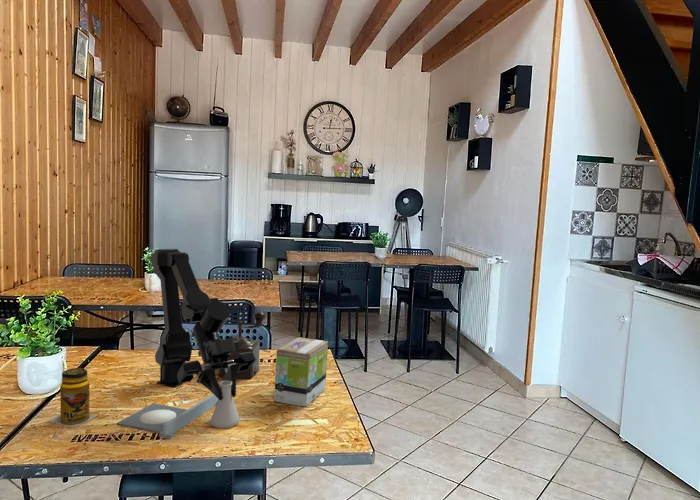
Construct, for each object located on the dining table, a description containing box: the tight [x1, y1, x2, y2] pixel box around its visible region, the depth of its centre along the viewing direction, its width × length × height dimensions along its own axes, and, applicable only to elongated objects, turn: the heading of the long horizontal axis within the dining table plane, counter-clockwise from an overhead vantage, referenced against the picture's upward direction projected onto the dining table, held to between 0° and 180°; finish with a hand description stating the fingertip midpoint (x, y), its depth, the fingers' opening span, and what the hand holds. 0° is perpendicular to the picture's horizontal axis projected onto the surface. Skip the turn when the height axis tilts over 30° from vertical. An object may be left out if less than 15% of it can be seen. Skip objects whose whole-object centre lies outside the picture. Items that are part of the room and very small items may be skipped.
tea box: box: [273, 336, 329, 407], centre depth 143 cm, size 15×10×15 cm
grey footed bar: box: [158, 393, 218, 440], centre depth 125 cm, size 3×22×3 cm, turn 163°
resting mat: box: [116, 403, 188, 434], centre depth 124 cm, size 13×13×1 cm
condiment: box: [46, 367, 99, 428], centre depth 121 cm, size 7×8×12 cm
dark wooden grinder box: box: [218, 311, 266, 380], centre depth 161 cm, size 16×11×18 cm
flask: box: [208, 380, 240, 429], centre depth 123 cm, size 7×7×10 cm
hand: (228, 397), depth 122 cm, fingers closed on flask, 3 cm apart
